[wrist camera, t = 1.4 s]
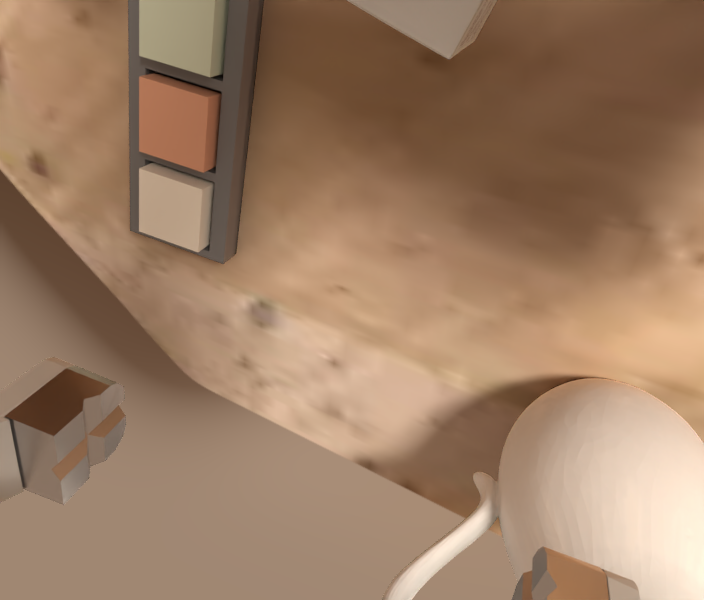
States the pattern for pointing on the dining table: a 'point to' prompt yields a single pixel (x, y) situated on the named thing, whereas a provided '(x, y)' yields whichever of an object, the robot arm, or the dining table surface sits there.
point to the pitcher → (591, 492)
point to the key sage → (185, 33)
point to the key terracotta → (178, 121)
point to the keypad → (232, 125)
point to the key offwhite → (175, 206)
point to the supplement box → (433, 20)
